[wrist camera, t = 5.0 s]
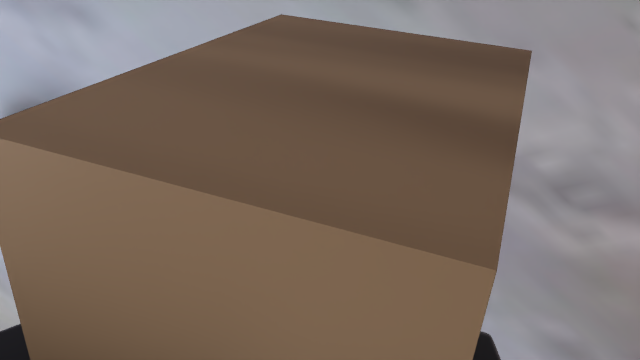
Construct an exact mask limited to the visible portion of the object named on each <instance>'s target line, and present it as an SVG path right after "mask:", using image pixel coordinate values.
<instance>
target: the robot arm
mask: <svg viewBox="0 0 640 360" xmlns="http://www.w3.org/2000/svg"><path fill="white" fill-rule="evenodd" d="M0 360H30V357H29V353H28V349H27V345H26V341H25V338H24V334H23V330H22V326H21V324H19V325H16V326H14V327H11V328H8V329H6V330H3V331H0ZM473 360H501V359H500V357H499V354H498V351H497V349H496V346H495V344H494V341H493V339H492V337H491V336H490V335H489V334H487V333H485V332H481V331H480V334H479V338H478V341H477V345H476V349H475V353H474V356H473Z"/></svg>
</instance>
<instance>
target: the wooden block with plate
mask: <svg viewBox="0 0 640 360" xmlns="http://www.w3.org/2000/svg"><path fill="white" fill-rule="evenodd" d="M531 53H532V51H529V50H522V49H516V48H509V47H502V46H495V45H488V44H481V43H474V42H467V41H460V40H454V39H447V38H440V37H433V36H426V35H419V34H412V33H405V32H398V31H391V30H385V29H378V28H371V27H364V26H357V25H350V24H343V23H336V22H329V21H323V20H316V19H309V18H302V17H295V16H288V15H279V16H276V17H273V18H271V19H268V20H265V21H263V22H260V23H257V24H255V25H252V26H249V27H246V28H244V29H241V30H238V31H236V32H233V33H230V34H228V35H225V36H222V37H220V38H217V39H214V40H212V41H209V42H206V43H203V44H201V45H198V46H195V47H193V48H190V49H187V50H185V51H182V52H179V53H177V54H174V55H171V56H169V57H166V58H163V59H160V60H158V61H155V62H152V63H150V64H147V65H144V66H142V67H139V68H136V69H134V70H131V71H128V72H125V73H123V74H120V75H117V76H115V77H112V78H109V79H107V80H104V81H101V82H99V83H96V84H93V85H91V86H88V87H85V88H82V89H80V90H77V91H74V92H72V93H69V94H66V95H64V96H61V97H58V98H56V99H53V100H50V101H48V102H45V103H42V104H39V105H37V106H34V107H31V108H29V109H26V110H23V111H21V112H18V113H15V114H13V115H10V116H7V117H5V118H2V119H0V247H1V250H2V254H3V258H4V262H5V266H6V269H7V273H8V277H9V281H10V285H11V288H12V292H13V296H14V300H15V304H16V307H17V311H18V315H19V319H20V323H21V326H22V330H23V334H24V338H25V341H26V345H27V349H28V353H29V357H30V360H473V356H474V353H475V349H476V345H477V341H478V338H479V334H480V330H481V327H482V323H483V319H484V316H485V312H486V308H487V305H488V301H489V297H490V294H491V290H492V286H493V283H494V279H495V275H496V272H497V266H498V260H499V253H500V247H501V241H502V235H503V228H504V222H505V216H506V210H507V203H508V197H509V191H510V184H511V178H512V172H513V166H514V159H515V153H516V147H517V141H518V134H519V128H520V122H521V116H522V109H523V103H524V97H525V90H526V84H527V78H528V72H529V65H530V59H531Z"/></svg>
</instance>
